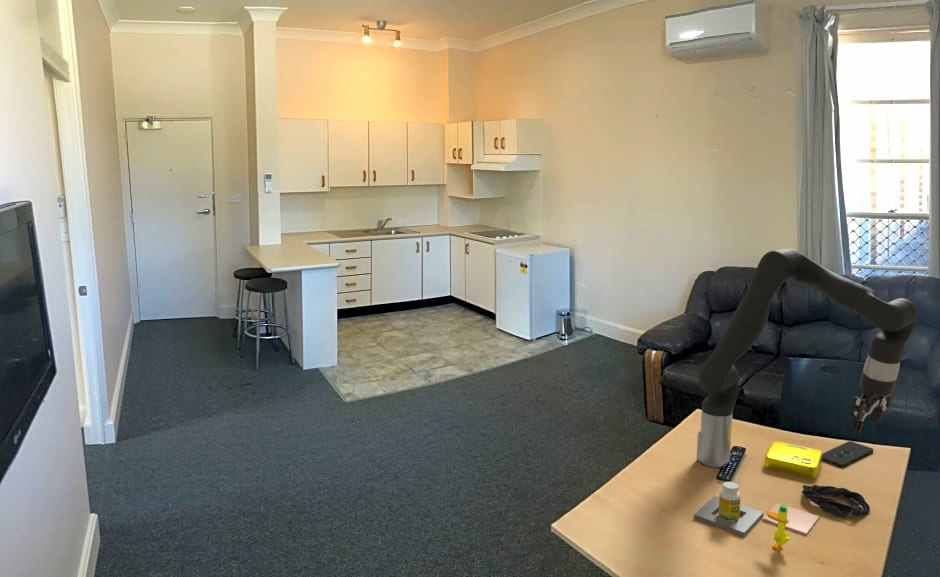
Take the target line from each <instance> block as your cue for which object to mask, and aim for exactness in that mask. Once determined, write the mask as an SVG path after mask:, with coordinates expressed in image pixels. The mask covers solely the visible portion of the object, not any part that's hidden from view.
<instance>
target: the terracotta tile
mask: <svg viewBox="0 0 940 577" xmlns="http://www.w3.org/2000/svg"><path fill="white" fill-rule="evenodd" d="M781 504H782V503H779V502H776V503H775V505H774V506H773V507H771V509H770V510H769V511H772V512H775V513H778V510H779V509H778V508H779V507H781ZM786 506H787V510H788V512H787V519H788V520H789V522H788V524H786V526H785V529H787V530H790V531H793V532H796V533H798V534H801V535H804V536H807V535H808V534H809V533H810V531H811V530H812V528H813V527H814V526H815V525H816V524H817V522H818V521H819V520H820V515H816V514H814V513H809V512H807V511H804V510H801V509H797V508H795V507H791V506H788V505H786ZM762 521H763V522H766V523H769V524H772V525H775V526H778V522H777V521H775V520H773V519H771V518H769V517H768V515H767V514H766V513H765V515H764V516H763V517H762Z"/></svg>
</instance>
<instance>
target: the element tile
mask: <svg viewBox="0 0 940 577" xmlns="http://www.w3.org/2000/svg"><path fill="white" fill-rule="evenodd" d="M822 454H823V452H822V450H820V449H816V448H812V447H808V446H807V447H806V446H801V445H796V444H793V443H787V442H783V441H778V440H774V441H772V442H771V443H770V446H769V447H768V448H767V451H766V452H765V454H764V468H765V469H766V470H769V471H773V472H778V473H781V474H782V473H783V474H787V475H791V476H794V477H795V476H796V477H800V478H805V479H808V480H809V479H810V480H816V479H817V478H818V476H819V473H820V469H821V466H822V464H823V463H822V462H823V461H822Z"/></svg>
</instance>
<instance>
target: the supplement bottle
mask: <svg viewBox="0 0 940 577" xmlns="http://www.w3.org/2000/svg"><path fill="white" fill-rule="evenodd" d="M718 497H719V511H718V516H719V517H721V518H724V519H727V520H730V521H732V522H735V523H736V522H738V521H739V520H740V514H739V512H740V504H741V498H742V497H741V493H740V492H739V485H738V484H737V483H736V482H733V481H725V482H723V483H722V489H721V490H720V491H719V496H718Z"/></svg>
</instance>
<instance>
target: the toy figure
mask: <svg viewBox="0 0 940 577" xmlns="http://www.w3.org/2000/svg"><path fill="white" fill-rule="evenodd" d="M780 504H781V507H779V508H778V509H779V510H778V513H775V512H772V511H770V510H769V511H765V515H766V514H767V515H768V517H769V518H771V519H773V520H775V521H777V522H778V525H777V529H776V530H775V531H774V537H773V538H774V539H773V540H774V542H775V544H773V545H772V546H771V548H772V549H773V550H776V551H778V552H780V551H782V550H783V549H784V548H783V546H784V545H786V544H787V543H788V542H790V540H791V539H792V538H791V536H788V533H787V532H786V531H785V529H786V528H785V526H786V524H788V522H789V520H788V519H787V512H788V510H787V506H788V505H786V504H782V503H780Z"/></svg>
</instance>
